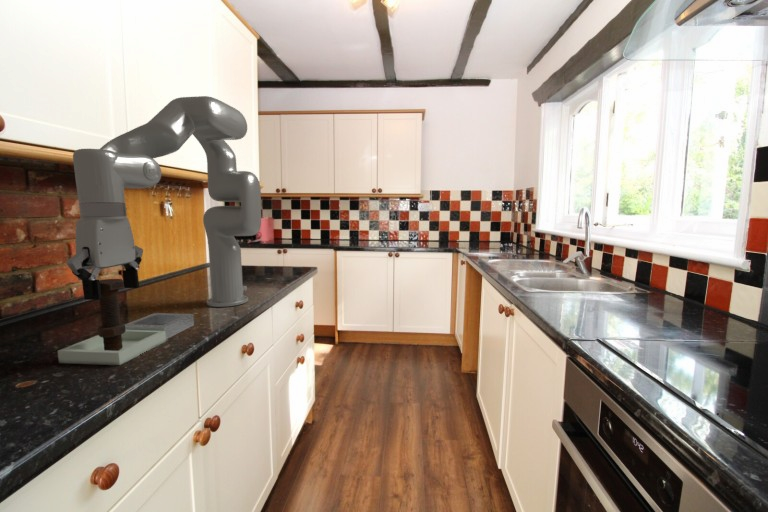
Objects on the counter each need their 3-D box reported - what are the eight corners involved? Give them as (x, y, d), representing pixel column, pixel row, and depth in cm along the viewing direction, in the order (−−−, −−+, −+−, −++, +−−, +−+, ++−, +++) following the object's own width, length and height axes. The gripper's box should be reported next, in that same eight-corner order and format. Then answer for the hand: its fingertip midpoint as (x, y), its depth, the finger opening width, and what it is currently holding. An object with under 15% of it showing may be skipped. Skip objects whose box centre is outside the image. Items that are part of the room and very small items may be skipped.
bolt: (109, 356, 72) (102, 284, 70) (90, 354, 73) (83, 282, 72) (135, 346, 78) (130, 278, 76) (117, 344, 79) (111, 277, 77)
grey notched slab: (155, 323, 95) (154, 313, 95) (194, 325, 94) (193, 314, 94) (121, 338, 84) (120, 326, 84) (165, 339, 83) (164, 327, 83)
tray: (114, 339, 83) (113, 329, 83) (166, 341, 82) (165, 330, 82) (58, 362, 70) (57, 350, 70) (119, 365, 69) (118, 352, 69)
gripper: (121, 211, 82) (129, 283, 84) (43, 213, 65) (56, 304, 67) (151, 211, 81) (159, 284, 84) (81, 213, 64) (93, 305, 67)
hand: (113, 293), depth 75 cm, fingers open, 9 cm apart
